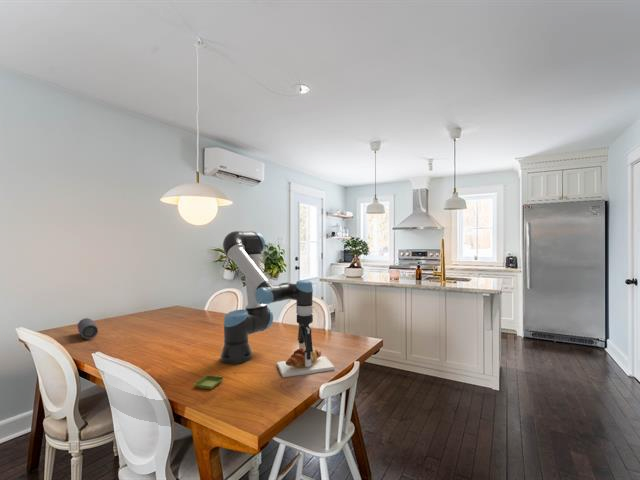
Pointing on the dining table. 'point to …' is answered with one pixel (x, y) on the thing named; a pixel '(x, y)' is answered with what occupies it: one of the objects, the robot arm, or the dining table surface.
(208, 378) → the saucer
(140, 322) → the dining table surface
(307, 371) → the platter
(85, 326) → the bluetooth speaker
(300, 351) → the croissant
